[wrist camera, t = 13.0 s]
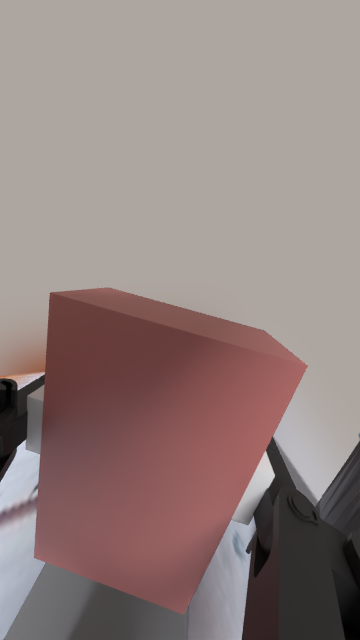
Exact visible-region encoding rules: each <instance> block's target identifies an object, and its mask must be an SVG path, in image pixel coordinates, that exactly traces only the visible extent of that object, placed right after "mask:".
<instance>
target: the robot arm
mask: <svg viewBox="0 0 360 640" xmlns="http://www.w3.org/2000/svg"><path fill="white" fill-rule="evenodd" d="M44 384H45V375H43V376H41V377H40V378H39V379H36V380H35V381H33V382H31V383H30V384H28V385H26V386H25V387H23V388H21V389H20V390H18V391H17V386H18V385H17V383H16V382H15V381H14V380H12V379H5V378H3V379H0V482H1V480H2V478H3V477H4V475H5V473H6V471H7V470H8V468H9V466H10V464H11V463H12V461H13V459H14V457H15V455H16V452H17V447H18V446H19V445H20V444H21V443H22V442H23V441H24V440H25V439H26V450H29V451H32V452H35V453H38V454H40V451H41V434H42V417H43V400H44ZM359 437H360V433H359ZM253 516H254V519H255V524H256V528H257V530H256V532H255V534H254V535H253V537H252V539H251V541H250V543H249V544H248V547H247V550H246V552H247V553H248V554H249V553H250V551H251V550H252V552H251V561H250V570H249V579H248V588H247V597H246V607H245V616H244V625H243V634H242V640H360V441H359V443H358V445H357V446H356V447H355V449H354V450H353V452H352V453H351V455H350V456H349V458H348V459H347V461H346V463H345V464H344V466H343V467H342V468H341V470H340V471H339V473H338V474H337V476H336V477H335V478H334V480H333V481H332V483H331V484H330V486H329V487H328V488H327V490H326V491H325V493H324V494H323V496H322V498H321V499H320V501H319V502H318V504H317V505H316V506H315V507H314V506H313V505H312V503H311V502H310V501H309V500H308V499H307V498H306V497H305V496H304V495H303V494H302V493H301V492H299V491H298V490H296V487H295V485H294V483H293V481H292V479H291V476H290V474H289V472H288V470H287V468H286V465H285V463H284V461H283V459H282V456H281V455H280V452H279V450H278V448H277V446H276V443H275V441H274V439H273V437H272V439H271V441H270V443H269V445H268V447H267V449H266V451H265V453H264V455H263V457H262V459H261V461H260V463H259V465H258V467H257V469H256V471H255V473H254V475H253V477H252V479H251V481H250V483H249V485H248V487H247V489H246V491H245V493H244V495H243V497H242V499H241V501H240V503H239V505H238V507H237V509H236V511H235V513H234V515H233V517H232V519H231V520H234V521H237V522H240V523H243V524H246V525H249V523H250V521H251V519H252V517H253Z"/></svg>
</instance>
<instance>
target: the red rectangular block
mask: <svg viewBox="0 0 360 640" xmlns="http://www.w3.org/2000/svg"><path fill="white" fill-rule="evenodd" d="M47 335H48V336H47V350H46V351H47V352H46V368H45V384H44V400H43V417H42V434H41V451H40V467H39V484H38V501H37V518H36V534H35V551H34V558H36V559H39V560H42V561H44V562H47V563H49V564H52V565H55V566H57V567H60V568H63V569H65V570H68V571H70V572H73V573H76V574H78V575H81V576H83V577H86V578H89V579H91V580H94V581H96V582H99V583H102V584H104V585H107V586H110V587H112V588H115V589H117V590H120V591H123V592H125V593H128V594H130V595H133V596H136V597H138V598H141V599H144V600H146V601H149V602H151V603H154V604H157V605H159V606H162V607H164V608H167V609H170V610H172V611H175V612H178V613H180V614H183V615H184V613H185V611H186V609H187V607H188V605H189V603H190V601H191V599H192V597H193V595H194V593H195V591H196V589H197V587H198V585H199V583H200V581H201V579H202V577H203V575H204V573H205V571H206V569H207V567H208V565H209V563H210V561H211V559H212V557H213V555H214V553H215V551H216V549H217V547H218V545H219V543H220V541H221V539H222V537H223V535H224V533H225V531H226V529H227V527H228V525H229V523H230V521H231V519H232V517H233V515H234V513H235V511H236V509H237V507H238V505H239V503H240V501H241V499H242V497H243V495H244V493H245V491H246V489H247V487H248V485H249V483H250V481H251V479H252V477H253V475H254V473H255V471H256V469H257V467H258V465H259V463H260V461H261V459H262V457H263V455H264V453H265V451H266V449H267V447H268V445H269V443H270V441H271V439H272V437H273V435H274V432H275V430H276V428H277V427H278V424H279V423H280V420H281V418H282V416H283V414H284V412H285V410H286V408H287V406H288V404H289V402H290V400H291V398H292V396H293V394H294V392H295V390H296V388H297V386H298V384H299V382H300V380H301V378H302V376H303V374H304V372H305V370H306V368H307V365H306V364H305V363H303V362H302V361H301V360H300V359H299V358H297V357H296V356H295V355H294V354H293V353H291V352H290V351H289V350H288V349H286V348H285V347H284V346H283V345H282V344H280V343H279V342H278V341H277V340H275V339H274V338H273V337H272V336H270V335H269V334H268V333H267V332H266V331H264V330H260V329H256V328H253V327H249V326H246V325H242V324H238V323H235V322H231V321H228V320H224V319H221V318H217V317H213V316H210V315H206V314H202V313H199V312H195V311H192V310H188V309H184V308H181V307H177V306H173V305H170V304H166V303H162V302H159V301H155V300H152V299H148V298H144V297H141V296H137V295H134V294H130V293H126V292H123V291H119V290H116V289H112V288H98V289H86V290H75V291H64V292H51V293H50V300H49V317H48V334H47Z"/></svg>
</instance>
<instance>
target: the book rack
mask: <svg viewBox="0 0 360 640" xmlns="http://www.w3.org/2000/svg"><path fill="white" fill-rule="evenodd" d="M188 608H189V605H188V607H187V609H186V611H185V613H184V615H183V614H180V613H178V612H175V611H172V610H170V609H167V608H164V607H162V606H159V605H157V604H154V603H151V602H149V601H146V600H144V599H141V598H138V597H136V596H133V595H130V594H128V593H125V592H123V591H120V590H117V589H115V588H112V587H110V586H107V585H104V584H102V583H99V582H96V581H94V580H91V579H89V578H86V577H83V576H81V575H78V574H76V573H73V572H70V571H68V570H65V569H63V568H60V567H57V566H55V565H52V564H49V563H47V562H46V564H45V565H44V567H43V569H42V571H41V573H40V575H39V576H38V578H37V580H36V582H35V584H34V585H33V587H32V589H31V591H30V593H29V595H28V596H27V598H26V600H25V602H24V604H23V605H22V607H21V609H20V611H19V613H18V615H17V616H16V618H15V620H14V622H13V624H12V626H11V627H10V629H9V631H8V633H7V635H6V636H5V638H4V640H187V633H188Z"/></svg>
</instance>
